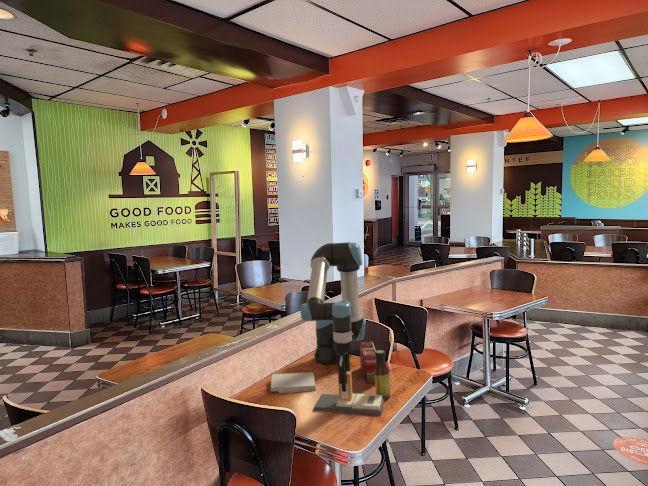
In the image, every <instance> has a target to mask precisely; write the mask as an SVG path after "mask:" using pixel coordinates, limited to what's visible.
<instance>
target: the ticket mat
mask: <svg viewBox="0 0 648 486" xmlns="http://www.w3.org/2000/svg"><path fill="white" fill-rule="evenodd" d="M338 399H339V394H331V393H330V394H329V393H326V394H325V393H321V394H320V397H319V398H318V400H317V401H316V404H315V405H314V407H313V409H314V411H317V412H318V411H319V412H332V413H333V412H334V413H346V414H348V413H349V414H360V415H361V414H364V415H375V416H381V415H382V413H383V408H384V405H385V399H384V398H383V397H382V395H376V394H373V393H372V394H369V393H355V397H354V400H353V402H352V406H351V407H337V406H336V403H337V401H338Z"/></svg>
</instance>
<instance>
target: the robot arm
mask: <svg viewBox="0 0 648 486" xmlns="http://www.w3.org/2000/svg"><path fill="white" fill-rule="evenodd" d="M362 258H363V257H362V250H361V248H360V245H359V243H358V242H350V241H348V242H333V243H332V242H330V243H329V242H328V243H325V244H323V245H321V246H320V247H318V248H317V249H316V251H314V253H313V255H312V256H311V259H310V268H311V273H310V279H309V284H308V285H309V286H308V293H307V299H306V302H305V303H302V304H301V305H300V318H301V320H302V321H306V322H314V321H315V335H316V348H315V352H314V357H313V358H314V362H315V363H318V364H321V365H333V364H337V369H338V373H339V384H341V397H342V398H344V399H348V383H347V371H351V363H350V361H351V359H350V354H351V353H350V352H352V350H353V341H362V340H364V338H365V332H366V322H367V321H366V320H367V319H366V317H364V316H363V313H361V312H360V299H359V298H360V297H359V283H358V271H359V270H360V267H361V266H362V265H363V259H362ZM331 267H336V270H337V272H339V276H340V287H341V288H340V289H341V300H340V301H338V302H325V297H326V287H327V277H328V270H329V269H330V268H331Z"/></svg>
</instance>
